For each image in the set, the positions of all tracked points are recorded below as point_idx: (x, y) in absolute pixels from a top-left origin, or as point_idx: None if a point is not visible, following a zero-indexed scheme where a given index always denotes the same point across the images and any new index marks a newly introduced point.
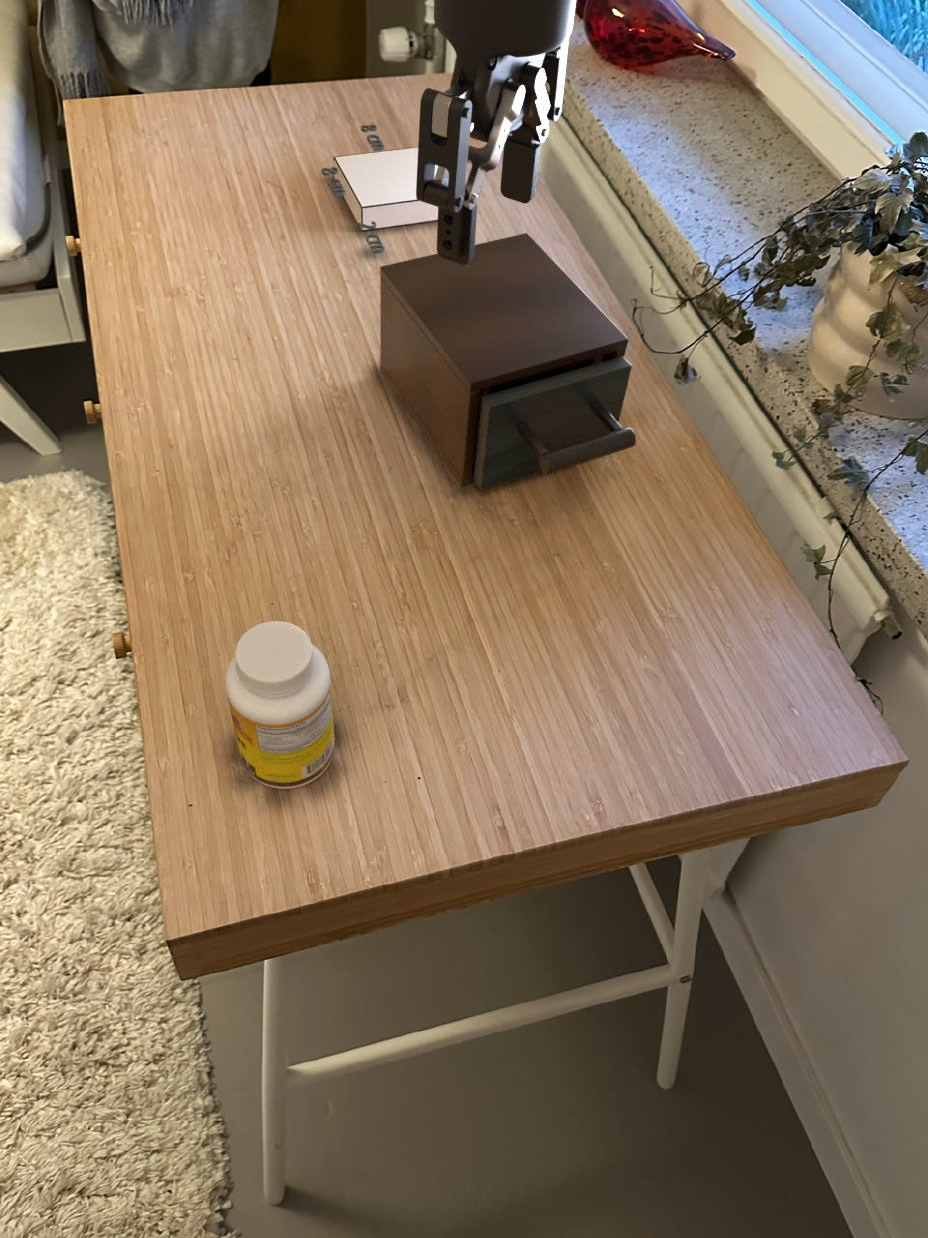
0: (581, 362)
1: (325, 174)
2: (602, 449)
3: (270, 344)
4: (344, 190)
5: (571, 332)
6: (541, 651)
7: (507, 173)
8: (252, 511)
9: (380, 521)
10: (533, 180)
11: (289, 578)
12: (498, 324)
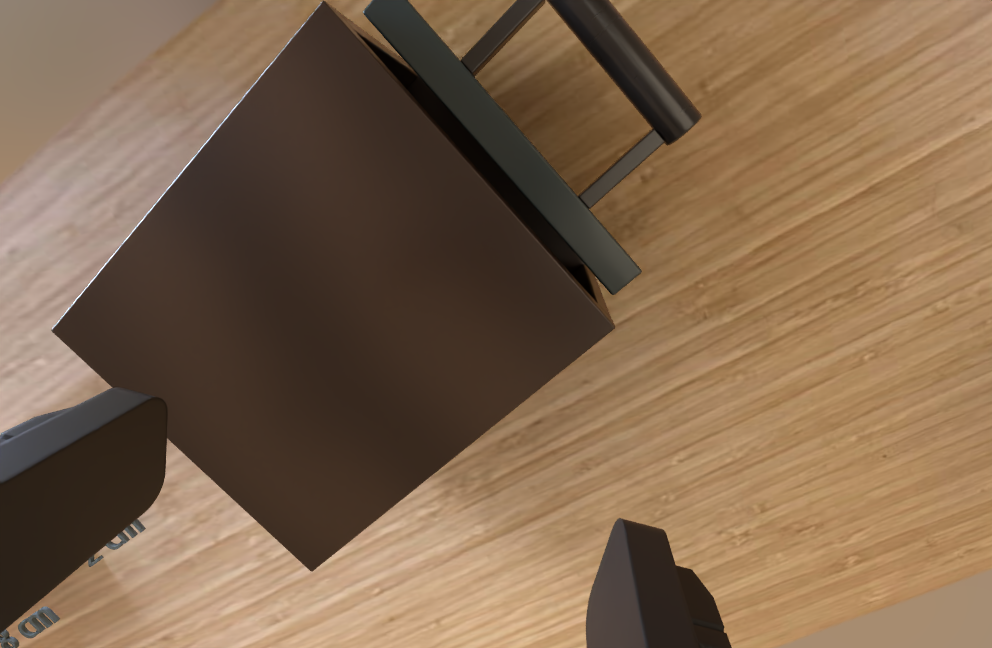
0: None
1: (17, 643)
2: (617, 13)
3: (391, 593)
4: (38, 611)
5: (358, 150)
6: (922, 62)
7: (93, 534)
8: (719, 525)
9: (696, 366)
10: (81, 428)
11: (833, 449)
12: (395, 317)
